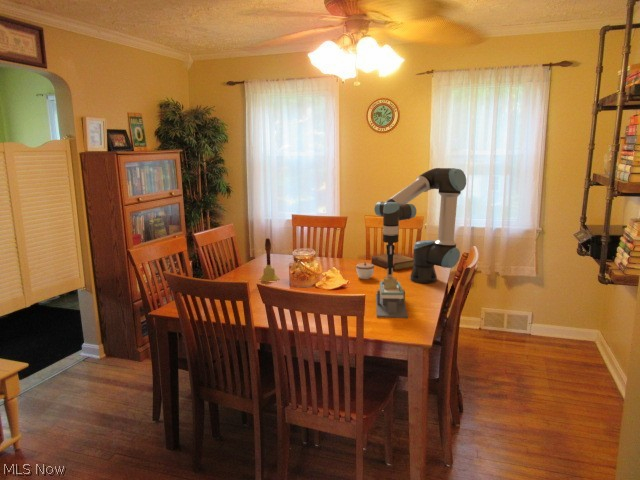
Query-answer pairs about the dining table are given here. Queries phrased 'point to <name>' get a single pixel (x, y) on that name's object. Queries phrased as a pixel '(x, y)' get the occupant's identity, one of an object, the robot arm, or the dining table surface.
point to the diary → (394, 261)
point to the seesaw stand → (390, 307)
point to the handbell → (268, 265)
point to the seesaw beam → (391, 292)
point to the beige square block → (390, 283)
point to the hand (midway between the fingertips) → (389, 279)
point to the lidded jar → (365, 270)
